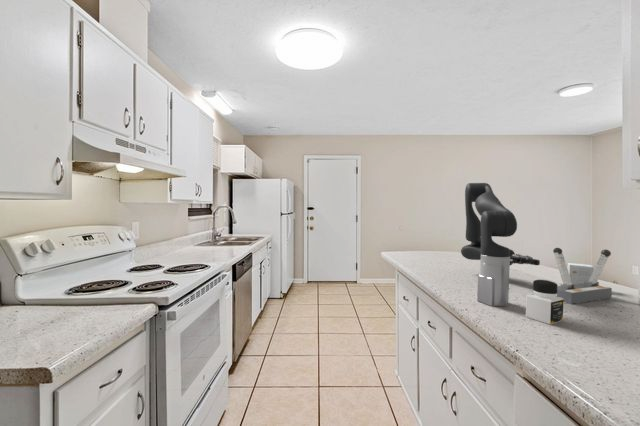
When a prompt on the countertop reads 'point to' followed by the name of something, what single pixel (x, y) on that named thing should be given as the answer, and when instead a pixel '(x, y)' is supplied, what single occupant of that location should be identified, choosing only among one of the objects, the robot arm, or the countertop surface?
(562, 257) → the lever
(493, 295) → the robot arm
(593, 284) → the lever
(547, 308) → the medicine bottle
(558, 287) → the switch console
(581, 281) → the small box
